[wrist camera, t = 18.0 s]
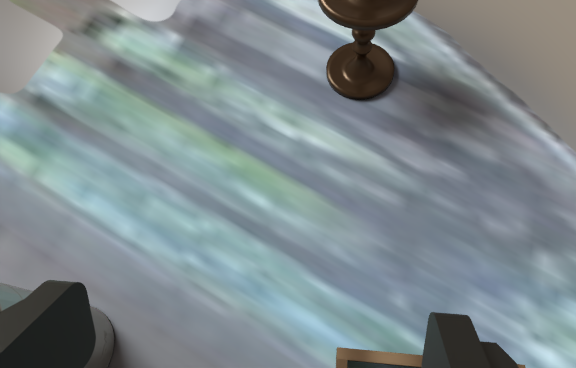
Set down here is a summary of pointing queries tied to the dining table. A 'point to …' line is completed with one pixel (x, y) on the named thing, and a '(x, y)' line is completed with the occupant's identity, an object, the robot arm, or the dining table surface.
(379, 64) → the candlestick
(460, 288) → the dining table surface
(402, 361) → the bin
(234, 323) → the dining table surface
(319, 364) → the dining table surface
